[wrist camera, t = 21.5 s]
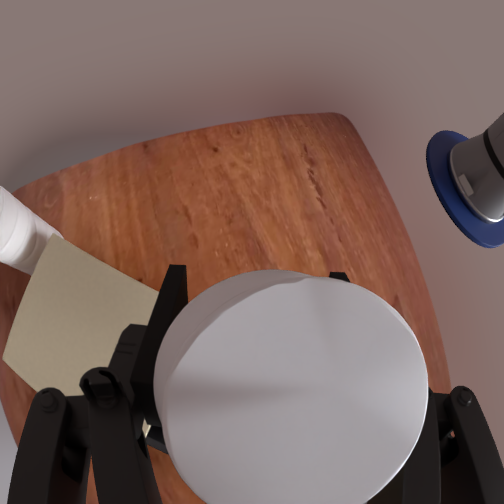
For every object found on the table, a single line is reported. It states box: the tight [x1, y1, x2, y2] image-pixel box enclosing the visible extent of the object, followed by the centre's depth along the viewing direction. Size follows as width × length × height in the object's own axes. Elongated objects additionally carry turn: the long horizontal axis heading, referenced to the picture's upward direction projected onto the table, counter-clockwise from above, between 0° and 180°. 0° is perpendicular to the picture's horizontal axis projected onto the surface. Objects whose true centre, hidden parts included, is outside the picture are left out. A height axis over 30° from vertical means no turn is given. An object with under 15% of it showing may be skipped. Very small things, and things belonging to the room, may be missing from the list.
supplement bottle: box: [153, 270, 428, 504], centre depth 10 cm, size 7×7×13 cm
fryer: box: [2, 233, 159, 438], centre depth 23 cm, size 16×14×9 cm
